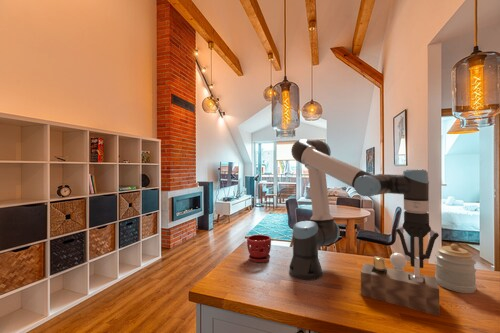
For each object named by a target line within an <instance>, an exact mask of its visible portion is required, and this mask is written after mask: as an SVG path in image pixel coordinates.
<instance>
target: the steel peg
mask: <svg viewBox="0 0 500 333" xmlns="http://www.w3.org/2000/svg"><path fill="white" fill-rule="evenodd" d="M410 280H412V281H417V282H421V283H423V277H422V276H420V278H418V277H415V275H414V274H410Z"/></svg>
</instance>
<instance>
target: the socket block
mask: <svg viewBox="0 0 500 333" xmlns="http://www.w3.org/2000/svg"><path fill="white" fill-rule="evenodd" d="M373 265H374V264H371V263H367V262H365V263H363V265H362V268H361V271H360V295H361V296H362V297H366V298H370V299H374V300H379V301H381V302H386V303H390V304H391V305H397V306H400V307H403V308H408V309H411V310H414V311H418V312H422V313H426V314H430V315H432V316H433V315H434V316H437V317H440V287H439V286H440V285H439V284H438V283H437V280H436V277H435V276H430V275H426V274H425V275H424V274H421V273H420V276H422V277H423V283H421V282H417V281H412V280H410V274H414V272H410V271H406V270H402V271H401V270H396V269H394V268H389V267H387V266H385V268H386V271H385V275H384V274H380V273H375V272H374V269H373Z"/></svg>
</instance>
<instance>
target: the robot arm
mask: <svg viewBox="0 0 500 333" xmlns="http://www.w3.org/2000/svg"><path fill="white" fill-rule="evenodd" d="M331 151H332V150H331V148H330V146H329V144H327V142H326V141H322V140H318V139H307V138H301V139H297V140H296V141H295V142H294V144H292V147H291V156H292V157H293V159H294V160H295V161H297V162H298V163H300V164H302V165H304V168H306V169H307V171H308V182H309V191H310V193H309V194H310V200H311V211H312V215H311V217H310V218H309V220H304V221H302V220H301V221H299V222H296V223H295V224H293V227H292V232H291V233H292V257H291V260H290V263H289V267H288V268H289V274H290V275H291V276H292V277H295V278H297V279H299V280H304V281H310V280H312V281H313V280H318V279H321V277H322V276H323V269H322V266H321V262H320V259H319V248H322V247H326V246H328V245H332V244H333V243H335V242H336V241H338V239H339V237H340V235H341V234H340V232H341V230H340V227H339V225H338V224H337V222H336V221H335V219H334V218H335V217H334V216H332V215H331V210H330V202H329V195H328V192H329V190H328V184H327V183H328V182H327V175H328V176H329V177H332V178H334V179H336V180H337V181H340V182H342V183H344V184H346V185H348V186H350V187H352V188H353V189H354V190H355V192H356V193H357V194H358V195H360V196H363V197H373V196H379V195H385V194H395V195H403V223H402V226H400V227H396V229H395V231H396V233H397V234H398V235H399V239H400V242H401V246H402V249H403V254H404V256H406V257H407V256H408V257H409V258H410V260H409V261H410V267H413V269H414V271H413V273H414V275H415V277H418V278H420V274H421V273H420V272H421V270H420V269H424V260H426V259H427V260H430V258H431V256H432V252H433V248H434V244H435V242H436V240H437V238H438V237H439V236H440V235H439V233H438V232H437V231H434V230H433V229H432V228H431V225H430V213H428V212H429V211H430V206H429V204H430V199H429V198H430V196H429V190H430V189H429V188H430V186H429V185H430V182H429V181H430V180H429V172H428V171H427V170H426V169H404V170H403V173H402V174H385V173H378V174H377V173H376V174H372V173H369V172H368V171H364V170H363V169H360V168H358V167H356V166H354V165H351V164H349V163H347V162H344V161H342V160H340V159H338V158H335V157H333V156H331V155H332V154H331ZM404 232H406V233H407V235H408V236H409V240H410V241H409V248H410V249H409V248H408V246H407V243H406V239H405V235H404ZM428 234H429V236H430V237H429V240H428V242H427V243H428V244H427V246H426V249H425V250H426V251H425V253H424V238H425V237H426V236H427V235H428ZM415 238H418V256H415ZM408 249H409V250H410V251H409V250H408Z"/></svg>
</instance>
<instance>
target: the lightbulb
mask: <svg viewBox="0 0 500 333" xmlns="http://www.w3.org/2000/svg"><path fill="white" fill-rule="evenodd" d="M405 256H406V255H405V254H403V253H400V252H393V253H392V254H391V255H390V257H389V261H390V263H391V265H392V266H393V269H396V270H401V271H404V268H405V266H406V265H407V262H408V261H407V258H406V257H405Z"/></svg>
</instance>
